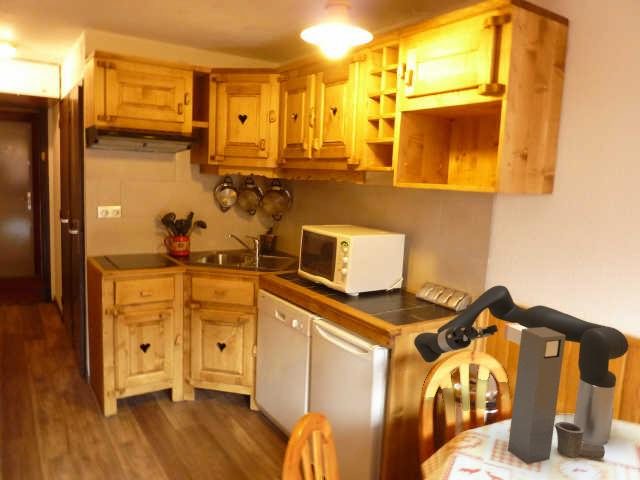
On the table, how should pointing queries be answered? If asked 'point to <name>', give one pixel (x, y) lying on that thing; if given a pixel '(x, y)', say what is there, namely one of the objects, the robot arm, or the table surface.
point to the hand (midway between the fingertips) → (485, 328)
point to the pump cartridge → (514, 334)
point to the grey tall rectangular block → (535, 395)
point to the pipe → (576, 442)
